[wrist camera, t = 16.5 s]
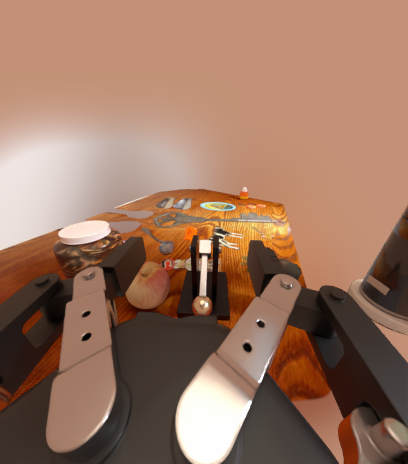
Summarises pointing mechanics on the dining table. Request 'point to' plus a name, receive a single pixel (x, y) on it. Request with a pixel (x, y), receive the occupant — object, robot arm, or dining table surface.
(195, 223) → the dining table surface
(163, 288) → the apple
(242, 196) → the candy corn
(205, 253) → the lever
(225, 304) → the bracket
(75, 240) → the jar
